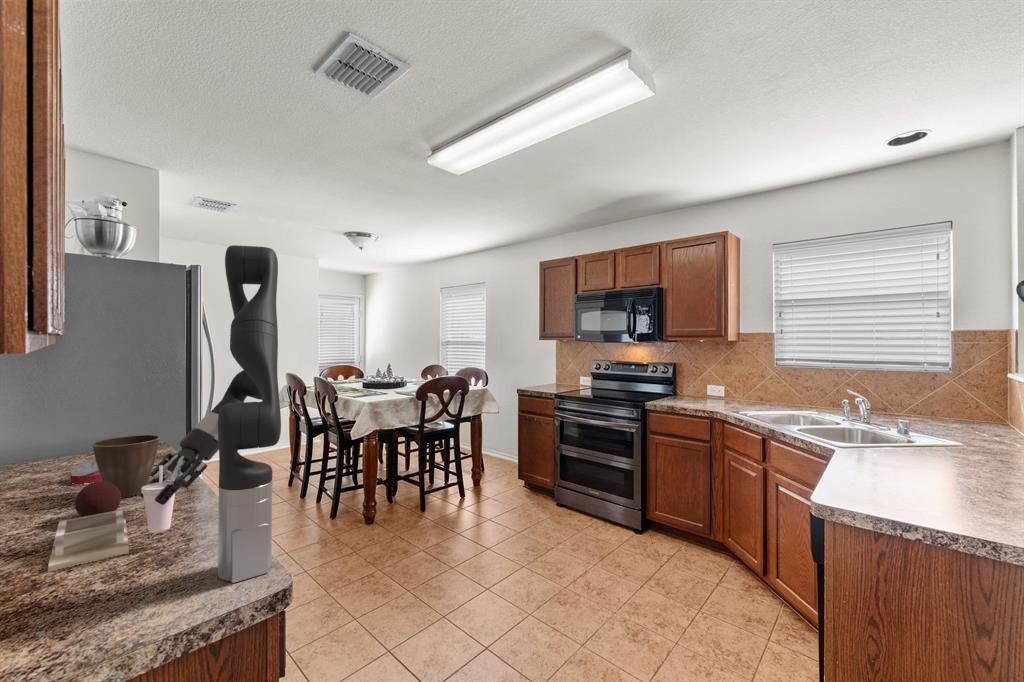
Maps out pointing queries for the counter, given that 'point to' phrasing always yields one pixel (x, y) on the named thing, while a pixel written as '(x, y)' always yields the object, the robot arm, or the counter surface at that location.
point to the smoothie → (157, 505)
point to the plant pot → (126, 461)
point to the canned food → (86, 472)
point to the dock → (89, 539)
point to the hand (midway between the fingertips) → (150, 500)
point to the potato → (97, 499)
